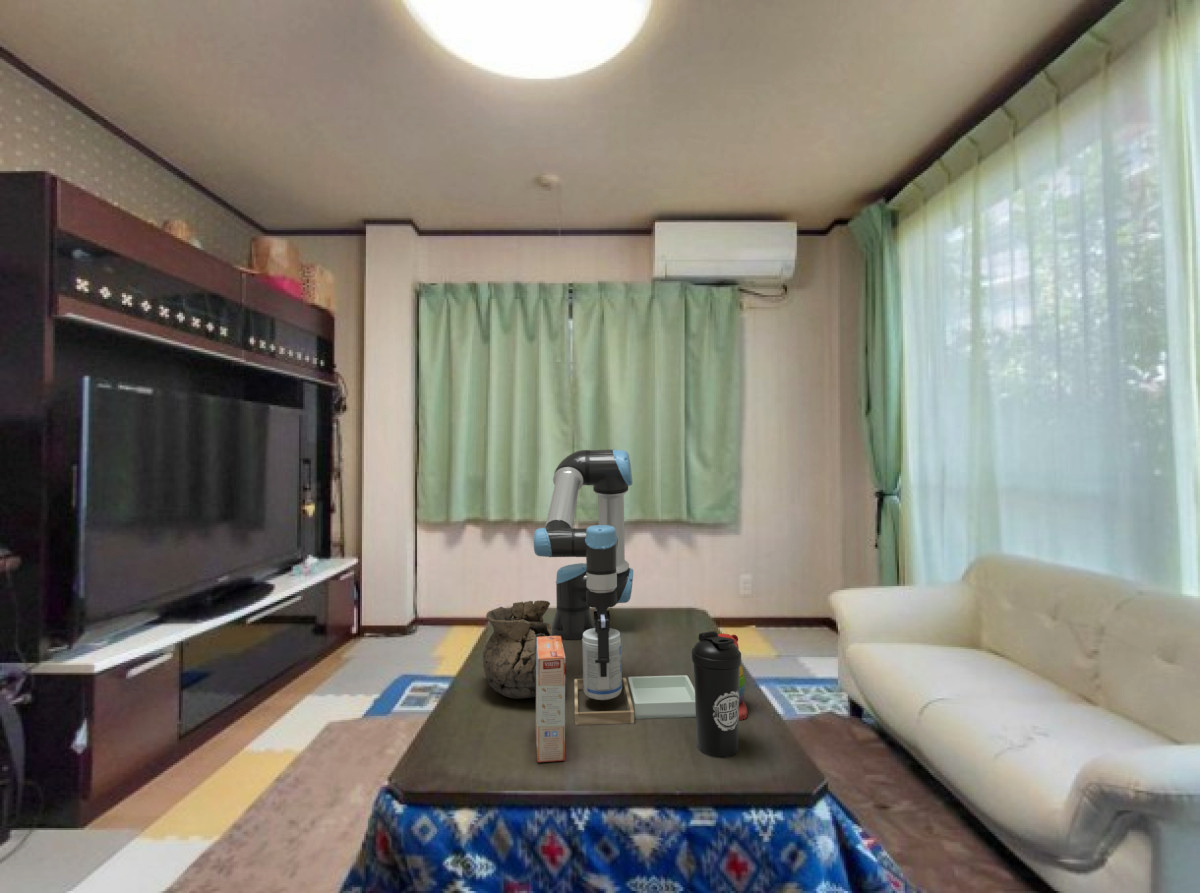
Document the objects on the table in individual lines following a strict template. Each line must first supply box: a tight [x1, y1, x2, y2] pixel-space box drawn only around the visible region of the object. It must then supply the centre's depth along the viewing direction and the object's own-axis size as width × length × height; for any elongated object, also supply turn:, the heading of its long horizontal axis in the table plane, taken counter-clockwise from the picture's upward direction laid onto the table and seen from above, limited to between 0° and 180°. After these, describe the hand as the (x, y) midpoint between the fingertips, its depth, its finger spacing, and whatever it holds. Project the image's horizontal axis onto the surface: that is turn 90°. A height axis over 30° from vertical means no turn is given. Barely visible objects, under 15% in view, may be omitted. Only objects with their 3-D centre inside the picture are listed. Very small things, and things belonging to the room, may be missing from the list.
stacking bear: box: [717, 633, 748, 721], centre depth 132 cm, size 11×10×18 cm
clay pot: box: [482, 599, 569, 700], centre depth 142 cm, size 25×24×22 cm
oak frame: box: [573, 677, 635, 726], centre depth 134 cm, size 20×14×2 cm
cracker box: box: [535, 635, 566, 763], centre depth 116 cm, size 14×6×21 cm, turn 7°
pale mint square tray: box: [627, 674, 696, 720], centre depth 135 cm, size 16×16×4 cm
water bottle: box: [691, 630, 742, 759], centre depth 115 cm, size 10×10×23 cm
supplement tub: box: [581, 627, 623, 701], centre depth 135 cm, size 10×10×15 cm
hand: (602, 679), depth 135 cm, fingers closed on supplement tub, 10 cm apart
